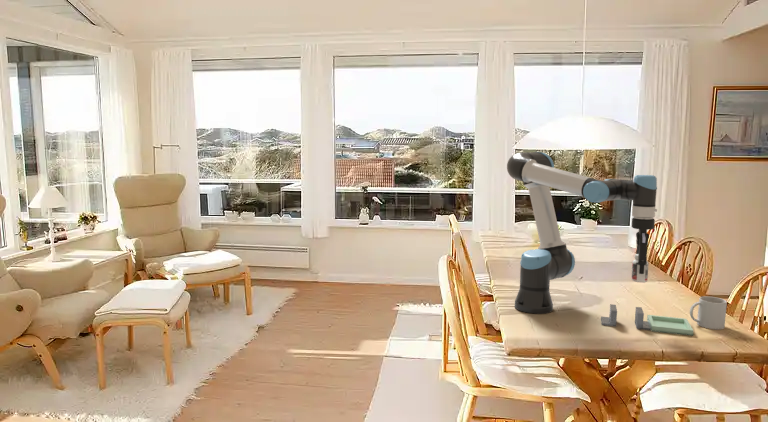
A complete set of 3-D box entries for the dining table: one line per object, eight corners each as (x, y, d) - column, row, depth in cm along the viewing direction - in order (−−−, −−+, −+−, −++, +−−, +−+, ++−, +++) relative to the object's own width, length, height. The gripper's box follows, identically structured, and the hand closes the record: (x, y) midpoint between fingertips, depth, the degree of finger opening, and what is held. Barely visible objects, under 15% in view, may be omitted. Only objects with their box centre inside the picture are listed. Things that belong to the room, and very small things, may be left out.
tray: (651, 331, 201) (651, 325, 201) (647, 319, 214) (647, 314, 213) (693, 335, 197) (693, 330, 197) (686, 323, 209) (686, 318, 209)
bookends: (601, 325, 207) (602, 309, 206) (600, 318, 215) (601, 303, 214) (651, 330, 202) (653, 314, 201) (649, 323, 209) (650, 308, 208)
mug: (726, 325, 208) (729, 299, 207) (721, 331, 201) (723, 305, 200) (694, 318, 215) (696, 293, 214) (688, 324, 208) (690, 299, 207)
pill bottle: (628, 279, 207) (630, 253, 206) (642, 279, 208) (643, 253, 206) (636, 282, 202) (637, 256, 201) (650, 282, 202) (652, 256, 201)
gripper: (657, 221, 192) (653, 287, 195) (652, 214, 209) (648, 275, 212) (633, 220, 194) (630, 285, 197) (630, 214, 212) (627, 273, 214)
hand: (640, 280), depth 205 cm, fingers closed on pill bottle, 5 cm apart
